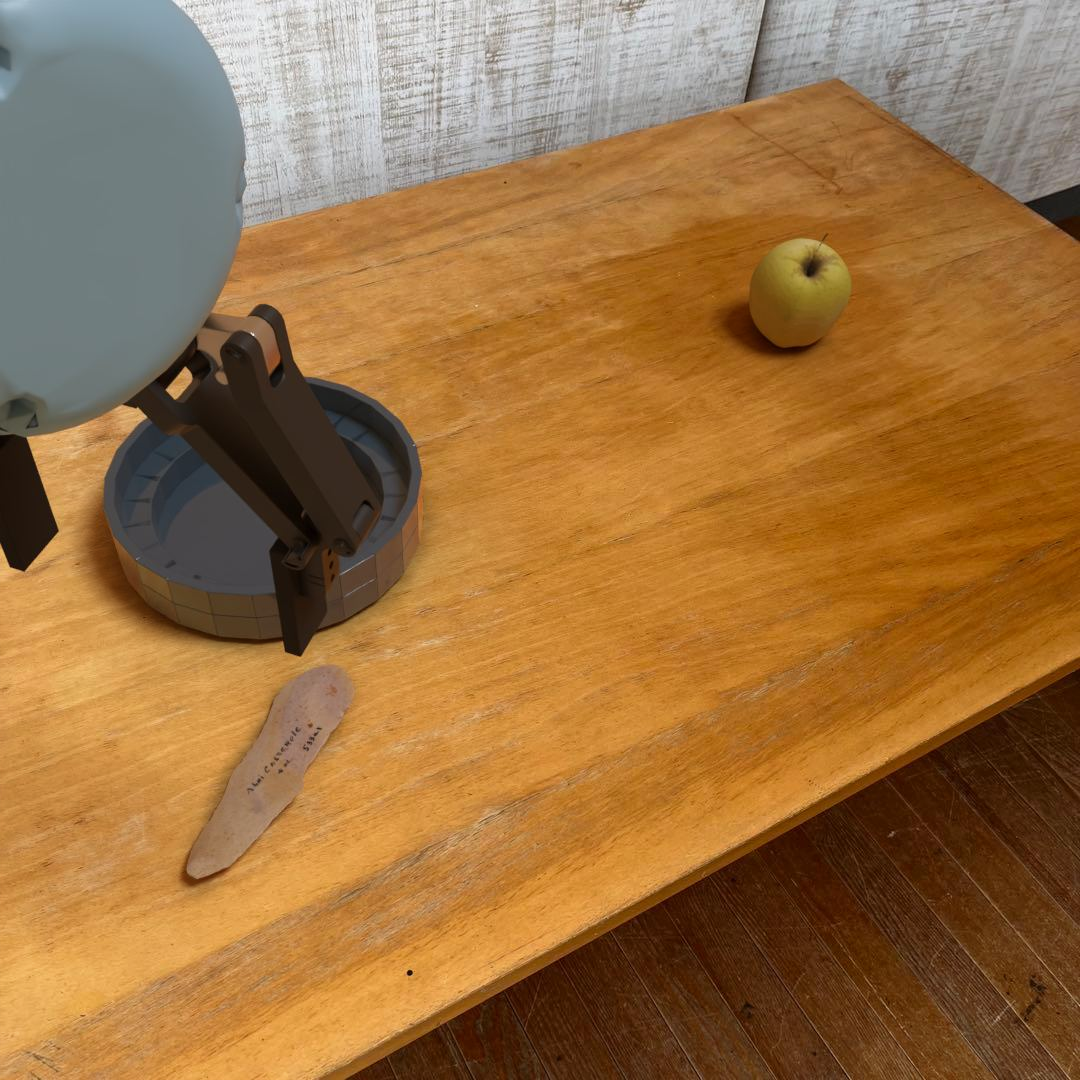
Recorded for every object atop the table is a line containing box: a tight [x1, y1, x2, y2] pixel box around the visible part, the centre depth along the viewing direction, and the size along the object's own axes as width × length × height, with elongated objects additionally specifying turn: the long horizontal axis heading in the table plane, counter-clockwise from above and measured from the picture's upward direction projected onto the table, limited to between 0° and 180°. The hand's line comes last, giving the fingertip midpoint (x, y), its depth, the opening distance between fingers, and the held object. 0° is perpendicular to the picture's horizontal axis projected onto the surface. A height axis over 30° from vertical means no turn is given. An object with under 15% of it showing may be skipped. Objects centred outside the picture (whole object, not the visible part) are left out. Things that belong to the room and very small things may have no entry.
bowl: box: [102, 376, 424, 640], centre depth 79 cm, size 20×20×5 cm
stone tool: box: [185, 664, 355, 880], centre depth 67 cm, size 5×2×15 cm
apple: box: [748, 232, 852, 349], centre depth 95 cm, size 8×8×10 cm
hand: (168, 590), depth 53 cm, fingers open, 13 cm apart
